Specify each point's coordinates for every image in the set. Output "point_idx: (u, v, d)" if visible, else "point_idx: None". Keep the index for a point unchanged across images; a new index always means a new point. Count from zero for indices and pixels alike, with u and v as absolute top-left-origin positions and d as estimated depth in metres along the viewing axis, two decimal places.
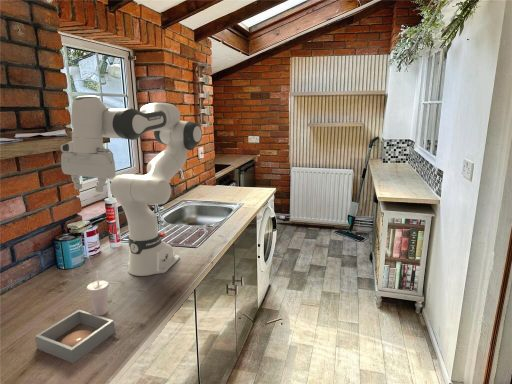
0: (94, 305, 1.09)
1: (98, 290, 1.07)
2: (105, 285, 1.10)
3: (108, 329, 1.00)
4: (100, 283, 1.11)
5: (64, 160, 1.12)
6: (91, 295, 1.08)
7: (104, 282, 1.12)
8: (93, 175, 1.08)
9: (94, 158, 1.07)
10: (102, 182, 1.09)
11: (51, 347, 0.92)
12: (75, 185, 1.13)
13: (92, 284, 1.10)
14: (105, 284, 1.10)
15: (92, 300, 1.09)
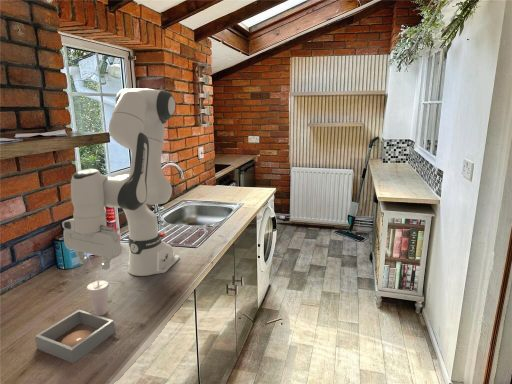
0: (94, 305, 1.09)
1: (98, 290, 1.07)
2: (105, 285, 1.10)
3: (108, 329, 1.00)
4: (100, 283, 1.11)
5: (67, 236, 1.07)
6: (91, 295, 1.08)
7: (104, 282, 1.12)
8: (98, 254, 1.03)
9: (98, 237, 1.02)
10: (108, 260, 1.04)
11: (51, 347, 0.92)
12: (80, 260, 1.09)
13: (92, 284, 1.10)
14: (105, 284, 1.10)
15: (92, 300, 1.09)
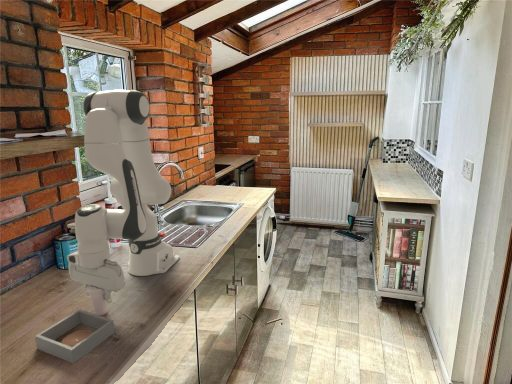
0: (94, 305, 1.09)
1: (98, 290, 1.07)
2: None
3: (108, 329, 1.00)
4: None
5: (71, 268, 1.10)
6: (91, 295, 1.08)
7: None
8: (103, 287, 1.06)
9: (102, 271, 1.05)
10: (109, 291, 1.08)
11: (51, 347, 0.92)
12: (88, 292, 1.11)
13: None
14: None
15: (92, 300, 1.09)
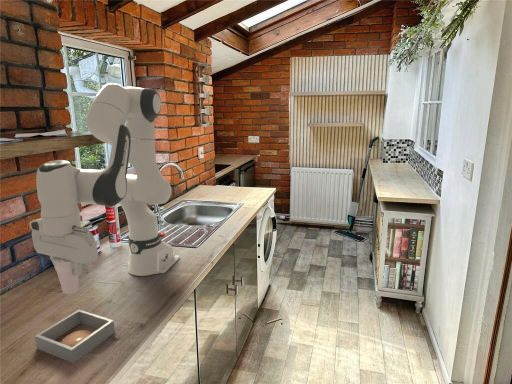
0: (62, 281, 0.92)
1: (66, 263, 0.90)
2: None
3: (108, 329, 1.00)
4: None
5: (36, 238, 0.93)
6: (58, 269, 0.91)
7: None
8: (71, 259, 0.89)
9: (70, 240, 0.88)
10: (79, 265, 0.91)
11: (51, 347, 0.92)
12: (55, 267, 0.94)
13: None
14: None
15: (59, 275, 0.91)
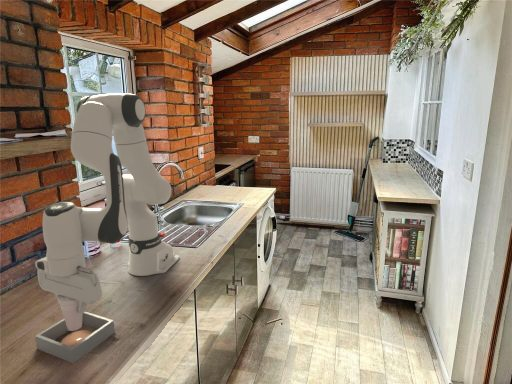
0: (66, 319, 0.94)
1: (70, 302, 0.93)
2: None
3: (108, 329, 1.00)
4: None
5: (41, 276, 0.95)
6: (63, 307, 0.93)
7: None
8: (76, 298, 0.92)
9: (75, 280, 0.90)
10: (83, 303, 0.93)
11: (51, 347, 0.92)
12: None
13: None
14: None
15: (64, 313, 0.94)
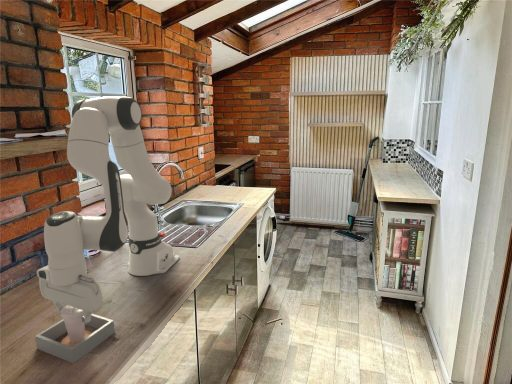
0: (69, 331, 0.96)
1: (73, 315, 0.94)
2: None
3: (108, 329, 1.00)
4: None
5: (43, 285, 0.96)
6: (65, 320, 0.94)
7: None
8: (77, 307, 0.92)
9: (76, 289, 0.91)
10: (89, 313, 0.94)
11: (51, 347, 0.92)
12: (58, 311, 0.98)
13: (67, 307, 0.97)
14: None
15: (67, 326, 0.95)
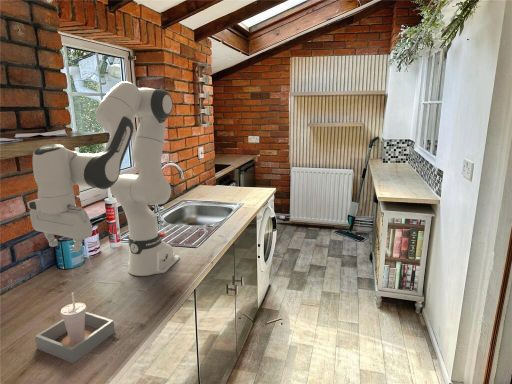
0: (69, 331, 0.96)
1: (73, 315, 0.94)
2: (82, 308, 0.96)
3: (108, 329, 1.00)
4: (76, 306, 0.97)
5: (33, 217, 1.00)
6: (65, 320, 0.94)
7: (81, 305, 0.98)
8: (67, 235, 0.97)
9: (66, 218, 0.95)
10: (78, 241, 0.98)
11: (51, 347, 0.92)
12: (50, 243, 1.02)
13: (67, 307, 0.97)
14: (82, 307, 0.97)
15: (66, 326, 0.95)
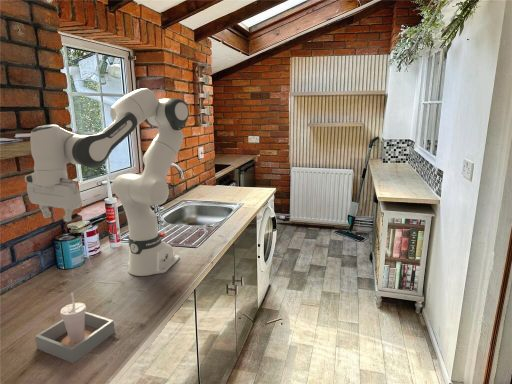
0: (69, 331, 0.96)
1: (73, 315, 0.94)
2: (81, 308, 0.96)
3: (108, 329, 1.00)
4: (76, 306, 0.97)
5: (30, 190, 1.11)
6: (65, 320, 0.94)
7: (81, 305, 0.98)
8: (59, 206, 1.08)
9: (58, 189, 1.06)
10: (69, 212, 1.09)
11: (51, 347, 0.92)
12: (44, 214, 1.13)
13: (67, 307, 0.97)
14: (82, 307, 0.97)
15: (66, 326, 0.95)
